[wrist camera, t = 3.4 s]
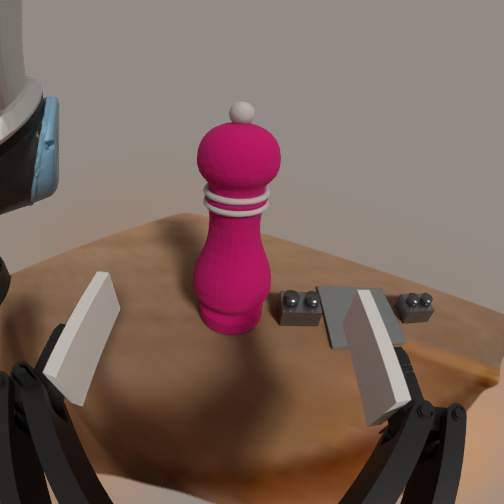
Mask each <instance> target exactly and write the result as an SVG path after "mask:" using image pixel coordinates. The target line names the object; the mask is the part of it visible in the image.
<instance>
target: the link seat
mask: <svg viewBox="0 0 504 504" xmlns="http://www.w3.org/2000/svg"><path fill="white" fill-rule="evenodd" d="M317 290H318V294H319V295H320V296H321V300H320V302H321V306H322V310H323V314H324V318H325V322H326V326H327V330H328V334H329V338H330V343H331V347H332V349H343V348H349V347H348V344H347V340H346V336H345V333H344V329H343V326H342V323H343V321H344V319H345V316H346V314H347V312H348V310H349V307H350V305H351V303H352V301H353V298H354V296H355V293H356V291H357V290H370V292H371V295H372V297H373V299H374V301H375V304H376V306H377V308H378V311H379V313H380V315H381V318H382V320H383V323H384V325H385V327H386V330H387V332H388V335H389V338H390V340H391V343H392V345H398V344H406V339H405V337H404V335H403V333H402V330H401V328H400V326H399V324H398V321H397V319H396V317H395V315H394V313H393V310H392V308H391V306H390V304H389V302H388V300H387V298H386V296H385V294H384V292H383V290H382V288H358V287H326V286H317Z"/></svg>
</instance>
